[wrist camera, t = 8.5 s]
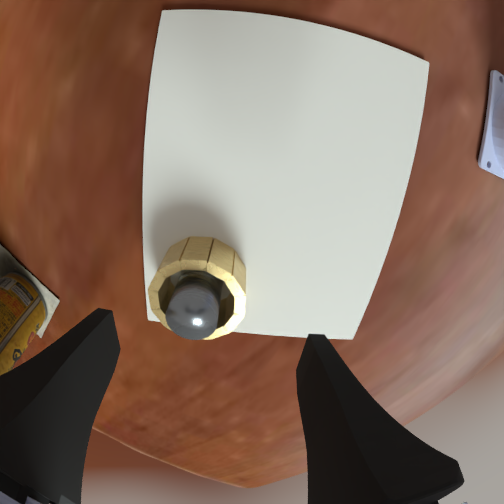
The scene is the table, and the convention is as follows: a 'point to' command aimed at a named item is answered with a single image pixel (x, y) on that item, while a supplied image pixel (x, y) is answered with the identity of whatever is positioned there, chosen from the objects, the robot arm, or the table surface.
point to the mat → (280, 159)
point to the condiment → (20, 309)
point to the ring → (204, 259)
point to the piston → (194, 305)
